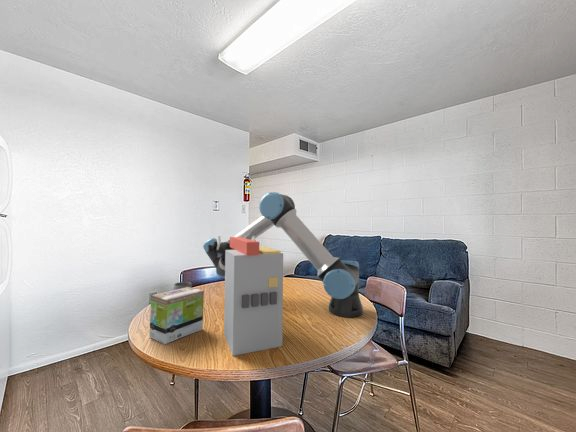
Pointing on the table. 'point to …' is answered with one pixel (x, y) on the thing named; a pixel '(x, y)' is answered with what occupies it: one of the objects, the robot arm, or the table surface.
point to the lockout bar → (244, 245)
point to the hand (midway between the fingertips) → (237, 239)
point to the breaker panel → (253, 301)
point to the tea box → (176, 314)
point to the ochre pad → (268, 250)
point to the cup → (182, 285)
